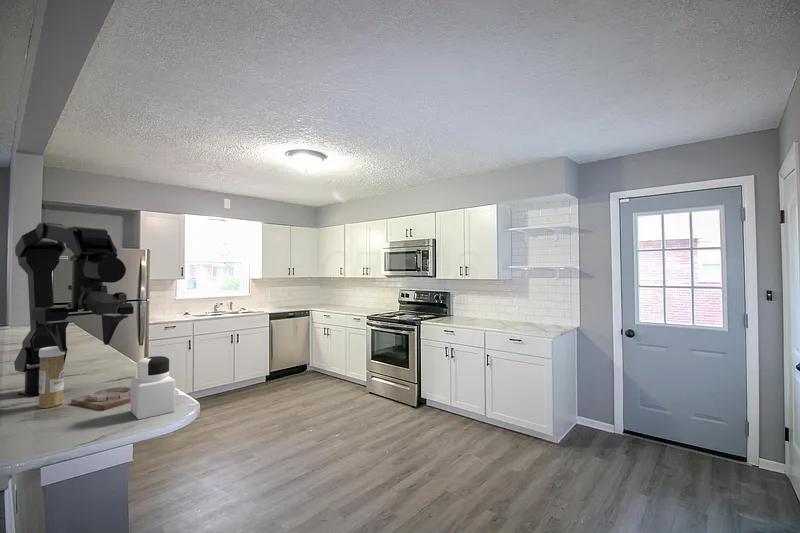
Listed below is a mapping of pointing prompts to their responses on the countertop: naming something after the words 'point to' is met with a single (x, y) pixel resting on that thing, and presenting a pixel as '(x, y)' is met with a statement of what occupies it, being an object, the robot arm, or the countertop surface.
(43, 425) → the countertop surface
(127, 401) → the display stand
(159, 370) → the medicine bottle
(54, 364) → the sprinkles bottle
